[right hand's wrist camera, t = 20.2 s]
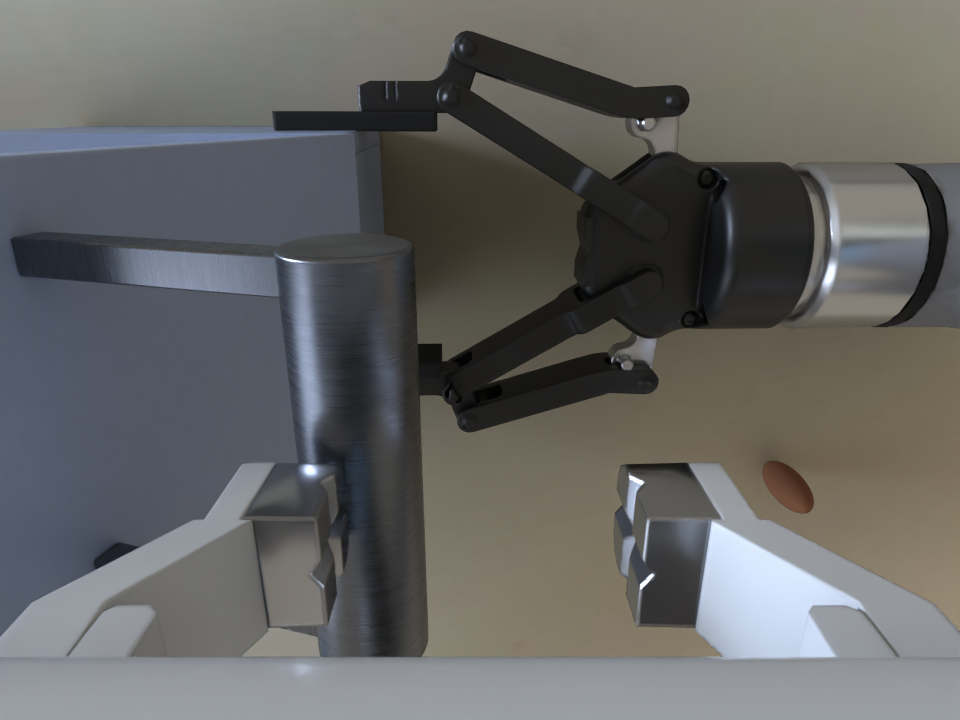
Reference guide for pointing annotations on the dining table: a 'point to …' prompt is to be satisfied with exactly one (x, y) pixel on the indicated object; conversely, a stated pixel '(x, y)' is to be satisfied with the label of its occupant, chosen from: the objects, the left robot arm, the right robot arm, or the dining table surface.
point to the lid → (205, 362)
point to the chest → (125, 136)
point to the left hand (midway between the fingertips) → (294, 249)
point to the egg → (788, 487)
